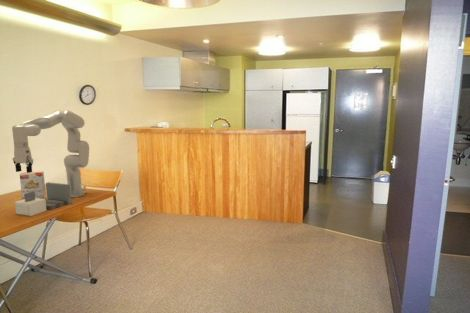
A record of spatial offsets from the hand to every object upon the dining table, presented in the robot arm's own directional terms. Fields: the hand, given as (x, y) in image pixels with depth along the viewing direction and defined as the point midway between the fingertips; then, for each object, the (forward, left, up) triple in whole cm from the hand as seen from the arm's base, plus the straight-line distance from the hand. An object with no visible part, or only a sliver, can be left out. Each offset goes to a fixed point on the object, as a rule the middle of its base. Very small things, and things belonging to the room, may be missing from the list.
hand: (24, 171), depth 204 cm
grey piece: (-16, +1, -27) cm, 31 cm away
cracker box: (-22, -22, -27) cm, 41 cm away
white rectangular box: (-1, +1, -27) cm, 27 cm away
